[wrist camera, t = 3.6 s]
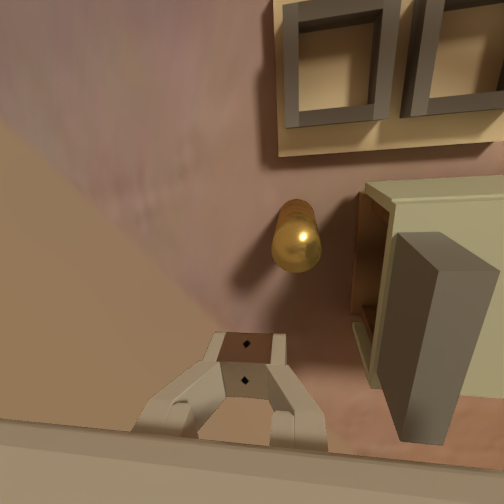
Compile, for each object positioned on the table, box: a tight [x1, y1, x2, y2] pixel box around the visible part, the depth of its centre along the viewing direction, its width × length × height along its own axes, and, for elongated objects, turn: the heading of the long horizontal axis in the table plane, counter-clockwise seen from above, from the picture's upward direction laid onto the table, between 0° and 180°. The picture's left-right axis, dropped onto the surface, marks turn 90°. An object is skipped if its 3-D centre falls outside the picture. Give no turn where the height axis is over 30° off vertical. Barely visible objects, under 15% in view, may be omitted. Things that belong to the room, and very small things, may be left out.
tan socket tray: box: [273, 0, 504, 157], centre depth 13 cm, size 8×12×2 cm, turn 94°
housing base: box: [350, 192, 390, 345], centre depth 15 cm, size 9×14×6 cm, turn 94°
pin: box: [271, 199, 322, 273], centre depth 15 cm, size 2×2×6 cm
